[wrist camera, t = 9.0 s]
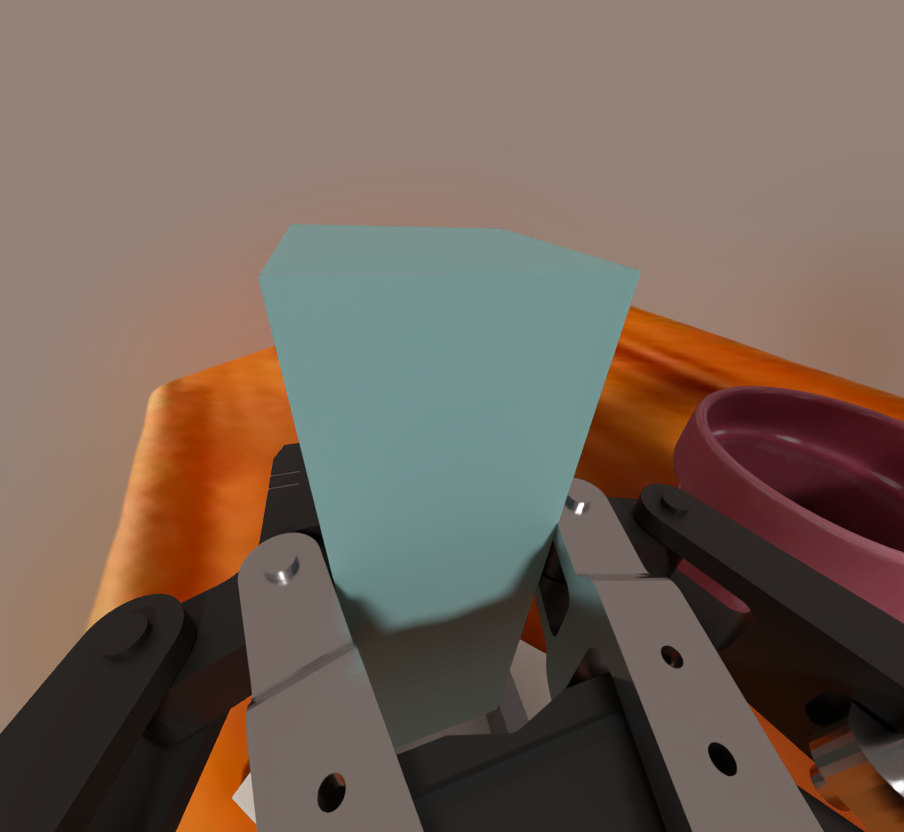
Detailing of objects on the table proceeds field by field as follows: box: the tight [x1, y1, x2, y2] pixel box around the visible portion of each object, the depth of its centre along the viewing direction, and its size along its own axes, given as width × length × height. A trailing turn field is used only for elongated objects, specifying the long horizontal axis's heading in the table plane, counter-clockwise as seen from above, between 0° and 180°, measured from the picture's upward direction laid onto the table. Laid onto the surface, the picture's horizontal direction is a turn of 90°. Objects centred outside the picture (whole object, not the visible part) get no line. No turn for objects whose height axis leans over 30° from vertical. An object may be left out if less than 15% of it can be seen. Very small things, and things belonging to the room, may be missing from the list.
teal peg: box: [258, 224, 641, 749], centre depth 9 cm, size 4×4×14 cm
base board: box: [232, 640, 551, 823], centre depth 17 cm, size 12×12×1 cm
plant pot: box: [673, 386, 904, 623], centre depth 21 cm, size 14×14×13 cm
